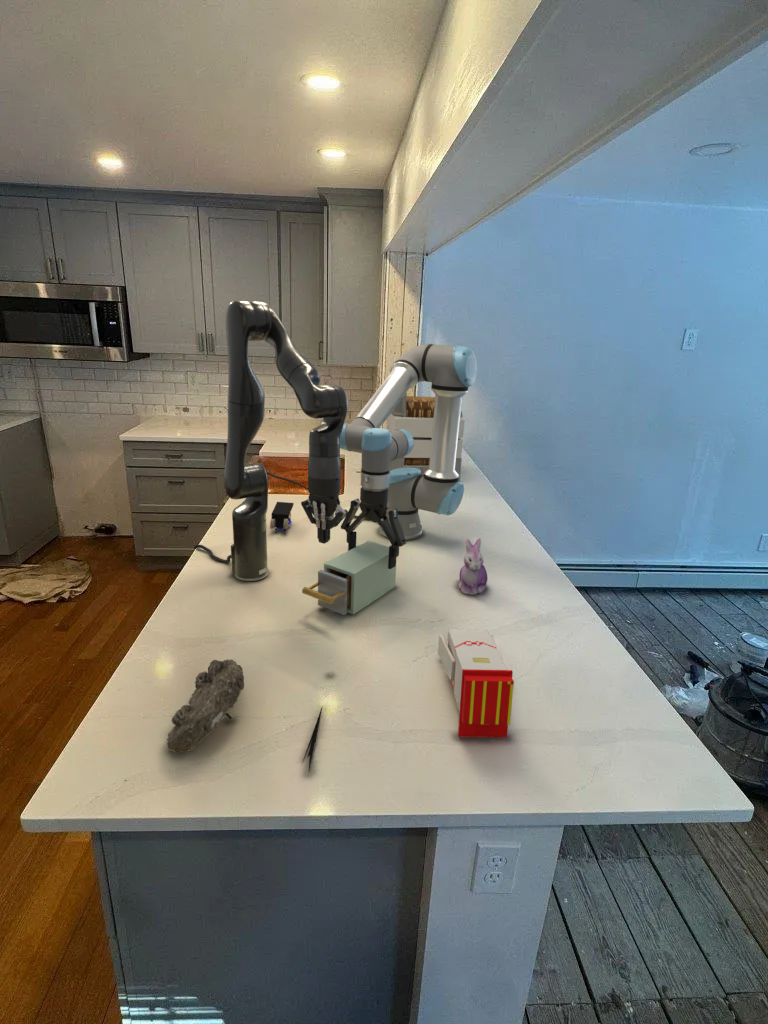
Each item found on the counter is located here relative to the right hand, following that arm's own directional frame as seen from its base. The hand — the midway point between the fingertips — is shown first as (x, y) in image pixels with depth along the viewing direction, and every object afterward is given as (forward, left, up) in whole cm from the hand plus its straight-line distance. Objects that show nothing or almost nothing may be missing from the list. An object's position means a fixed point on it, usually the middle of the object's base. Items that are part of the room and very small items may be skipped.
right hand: (371, 560), depth 157 cm
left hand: (+5, -20, +12) cm, 24 cm away
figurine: (+17, +24, -9) cm, 31 cm away
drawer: (+3, -11, -8) cm, 14 cm away
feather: (+36, -42, -9) cm, 56 cm away
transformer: (-79, +95, -9) cm, 124 cm away
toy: (+48, -12, -9) cm, 50 cm away
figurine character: (-54, +4, -9) cm, 55 cm away
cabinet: (+1, -5, -9) cm, 10 cm away
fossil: (+23, -58, -9) cm, 63 cm away
